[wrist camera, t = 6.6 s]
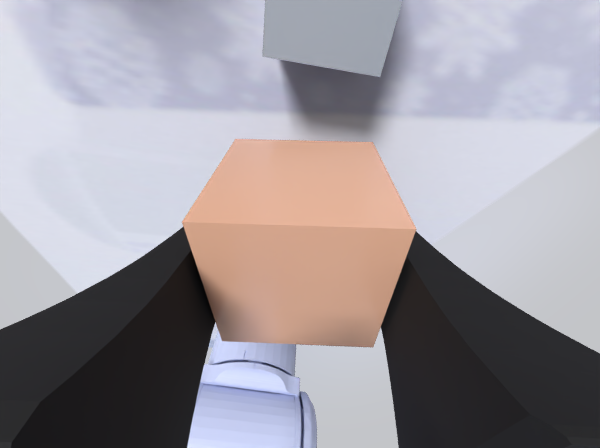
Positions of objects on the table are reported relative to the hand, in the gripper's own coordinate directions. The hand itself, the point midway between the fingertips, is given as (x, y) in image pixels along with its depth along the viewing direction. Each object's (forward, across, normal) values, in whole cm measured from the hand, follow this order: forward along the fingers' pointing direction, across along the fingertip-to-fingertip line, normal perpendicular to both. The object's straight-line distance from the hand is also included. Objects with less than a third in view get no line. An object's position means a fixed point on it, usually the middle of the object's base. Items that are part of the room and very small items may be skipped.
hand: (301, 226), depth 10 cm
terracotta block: (+2, 0, 0) cm, 2 cm away
